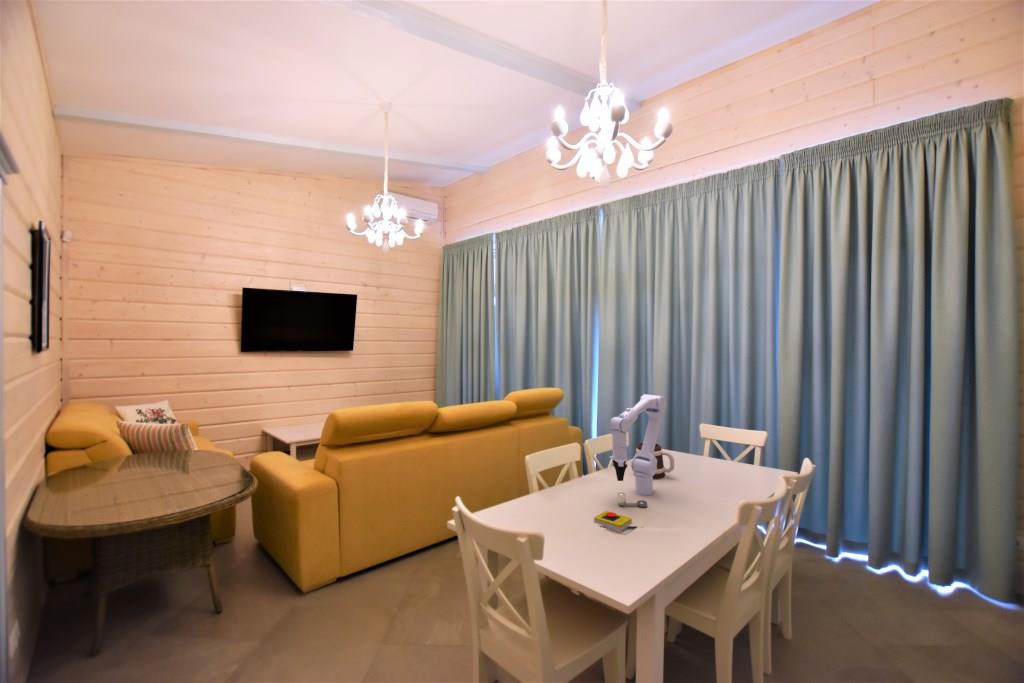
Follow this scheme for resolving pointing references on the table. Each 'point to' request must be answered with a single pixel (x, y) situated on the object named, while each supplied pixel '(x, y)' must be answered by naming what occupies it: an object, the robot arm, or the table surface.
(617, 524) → the emergency button
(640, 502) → the crank
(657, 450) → the mug
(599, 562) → the table surface
